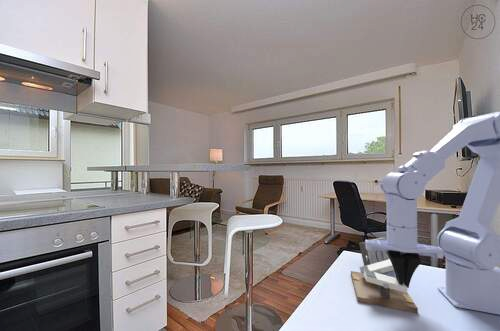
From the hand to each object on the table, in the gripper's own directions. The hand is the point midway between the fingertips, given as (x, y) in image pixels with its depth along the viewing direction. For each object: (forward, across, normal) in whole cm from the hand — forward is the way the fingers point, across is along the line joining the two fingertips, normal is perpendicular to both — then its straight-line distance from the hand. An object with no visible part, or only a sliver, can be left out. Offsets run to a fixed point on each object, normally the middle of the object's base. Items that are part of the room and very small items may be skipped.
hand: (402, 284), depth 49 cm
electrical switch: (+4, +2, -17) cm, 17 cm away
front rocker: (0, +4, 0) cm, 4 cm away
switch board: (+4, +4, -4) cm, 6 cm away
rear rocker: (0, +4, -6) cm, 7 cm away
